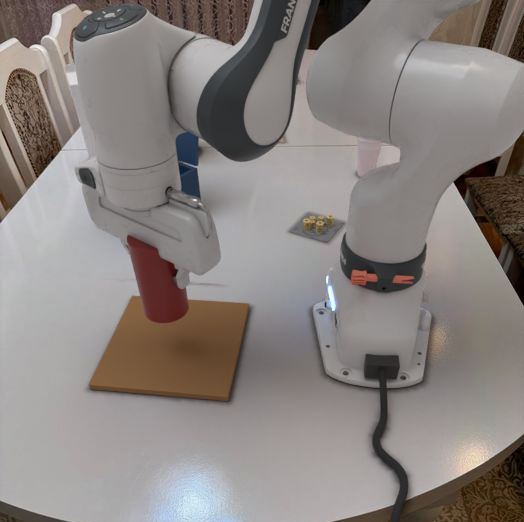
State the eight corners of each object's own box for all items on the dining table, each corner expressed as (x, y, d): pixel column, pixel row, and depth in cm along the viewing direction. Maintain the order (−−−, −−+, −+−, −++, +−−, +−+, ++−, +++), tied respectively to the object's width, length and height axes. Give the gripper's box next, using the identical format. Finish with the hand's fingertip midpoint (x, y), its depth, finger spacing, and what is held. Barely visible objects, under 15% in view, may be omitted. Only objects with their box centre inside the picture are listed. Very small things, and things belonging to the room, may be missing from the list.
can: (182, 325, 68) (170, 251, 60) (138, 321, 69) (119, 248, 61) (193, 296, 73) (183, 223, 65) (151, 293, 74) (135, 221, 65)
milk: (89, 159, 124) (62, 61, 108) (113, 155, 125) (90, 57, 110) (92, 169, 120) (64, 68, 104) (117, 165, 121) (93, 65, 106)
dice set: (334, 224, 100) (335, 215, 99) (323, 236, 97) (324, 227, 96) (312, 217, 102) (312, 209, 101) (300, 229, 99) (300, 221, 98)
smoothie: (378, 181, 113) (388, 118, 103) (350, 179, 114) (357, 116, 104) (379, 169, 117) (389, 106, 107) (352, 167, 118) (359, 105, 108)
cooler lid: (196, 71, 87) (199, 71, 88) (142, 59, 93) (145, 58, 94) (195, 166, 97) (198, 165, 98) (147, 149, 103) (149, 149, 103)
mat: (228, 401, 69) (227, 396, 68) (90, 389, 71) (88, 384, 70) (249, 307, 83) (248, 303, 82) (133, 300, 85) (132, 295, 84)
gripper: (228, 191, 55) (234, 291, 64) (105, 147, 63) (127, 240, 73) (188, 215, 51) (202, 317, 61) (64, 164, 60) (93, 260, 70)
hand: (160, 274), depth 67 cm, fingers closed on can, 6 cm apart
